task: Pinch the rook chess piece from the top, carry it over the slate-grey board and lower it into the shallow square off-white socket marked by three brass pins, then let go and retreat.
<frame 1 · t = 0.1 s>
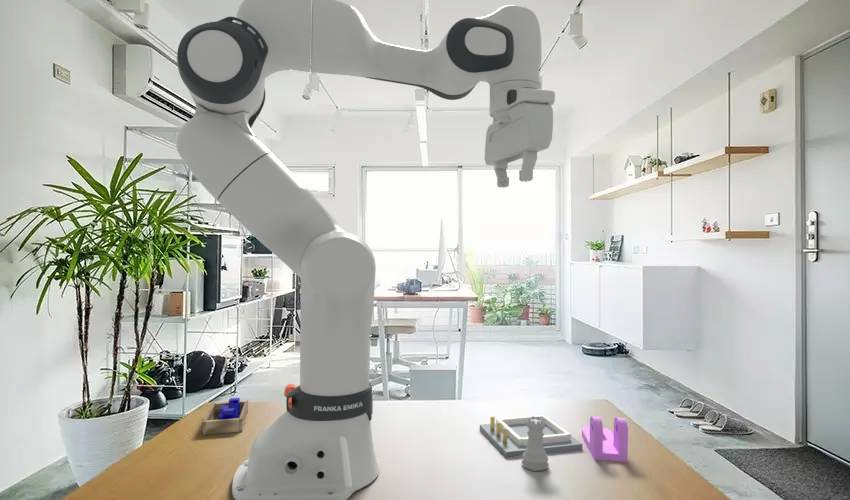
hand: (513, 184, 86), 48 cm above the table, tool pointing down, fingers open, 8 cm apart
rook chess piece: (535, 467, 82), on the table
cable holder: (227, 424, 100), resting in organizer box
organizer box: (226, 422, 100), on the table
board: (528, 439, 93), on the table
bracket: (601, 447, 91), on the table
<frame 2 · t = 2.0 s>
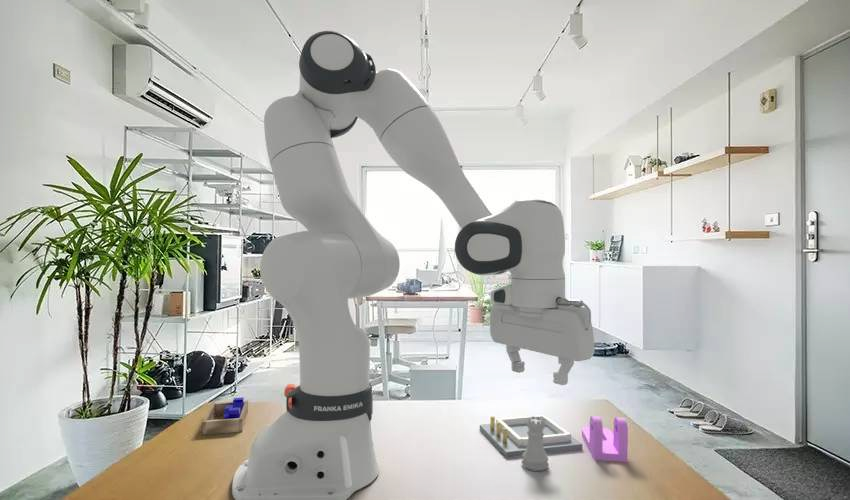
hand: (538, 377, 82), 15 cm above the table, tool pointing down, fingers open, 8 cm apart
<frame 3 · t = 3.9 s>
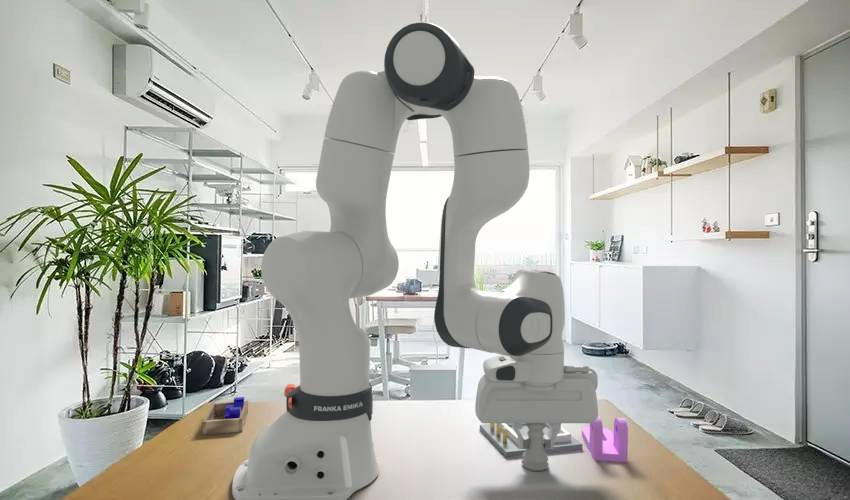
hand: (535, 447, 82), 3 cm above the table, tool pointing down, fingers closed on rook chess piece, 3 cm apart
rook chess piece: (535, 467, 82), on the table, touching gripper
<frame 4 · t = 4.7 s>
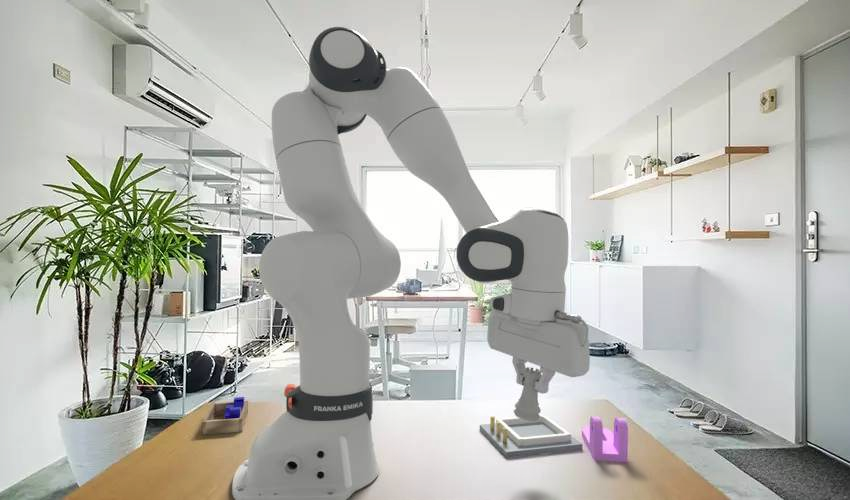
hand: (531, 388, 82), 13 cm above the table, tool pointing down, fingers closed on rook chess piece, 3 cm apart
rook chess piece: (526, 417, 82), point 8 cm above the table, touching gripper
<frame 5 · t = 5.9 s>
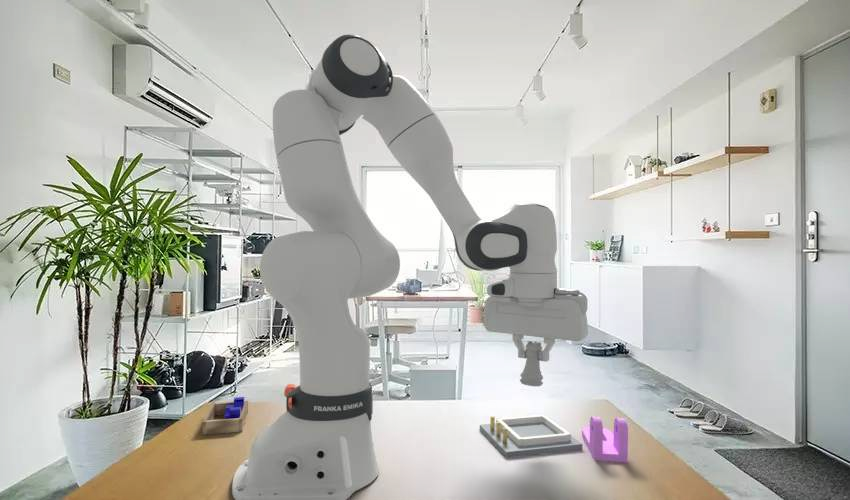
hand: (533, 359, 94), 15 cm above the table, tool pointing down, fingers closed on rook chess piece, 3 cm apart
rook chess piece: (531, 385, 94), point 10 cm above the table, touching gripper
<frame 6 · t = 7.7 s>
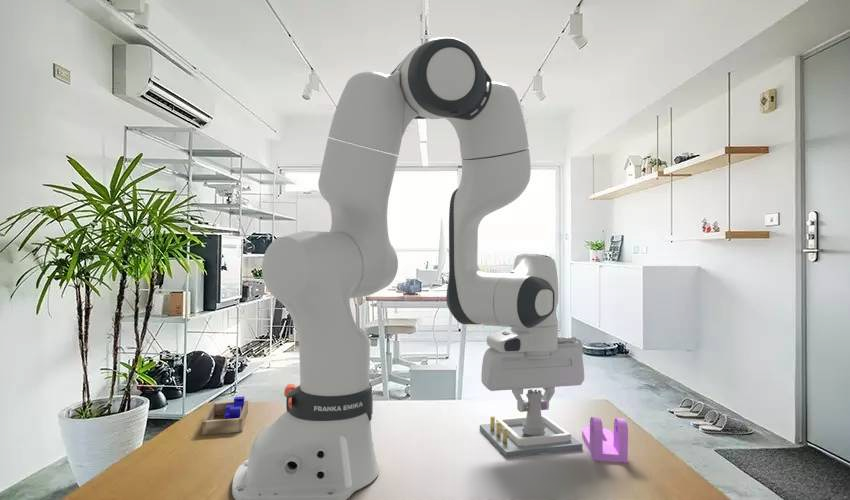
hand: (533, 410, 94), 5 cm above the table, tool pointing down, fingers closed on rook chess piece, 3 cm apart
rook chess piece: (533, 434, 93), point 1 cm above the table, touching board, gripper
when the fingers open (5 cm above the table, at t = 7.7 s): rook chess piece stays where it is, resting on board.
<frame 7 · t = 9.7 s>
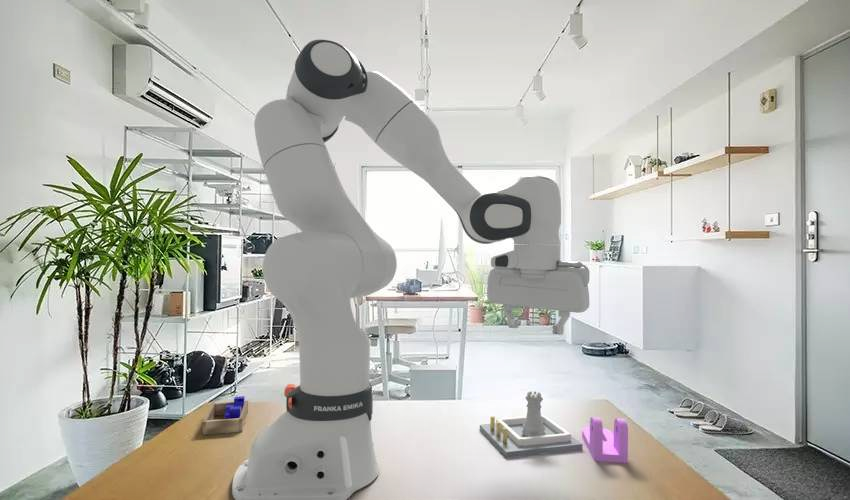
hand: (534, 330, 95), 20 cm above the table, tool pointing down, fingers open, 8 cm apart
rook chess piece: (533, 436, 93), point 1 cm above the table, touching board
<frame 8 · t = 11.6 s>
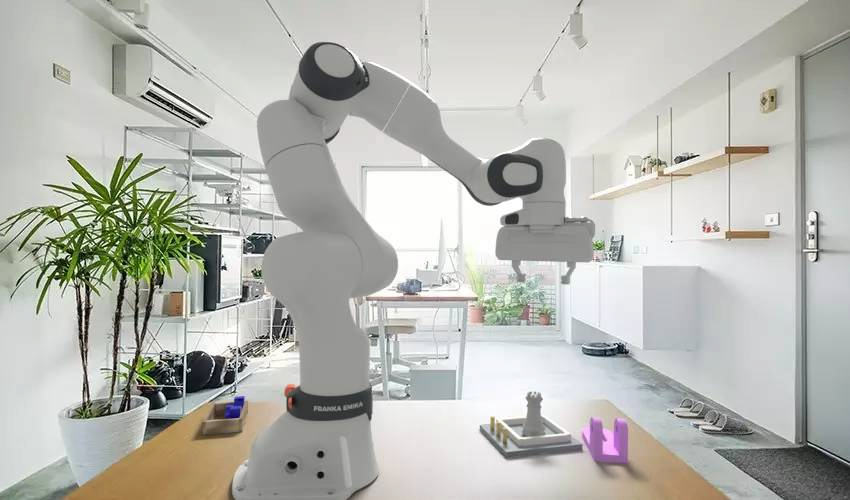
hand: (542, 283, 103), 29 cm above the table, tool pointing down, fingers open, 8 cm apart
at the end: rook chess piece inside the target area on the board (1.4 cm from its centre), point 0.8 cm above the board's base; rook chess piece tilted 0°; the gripper is holding nothing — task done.
